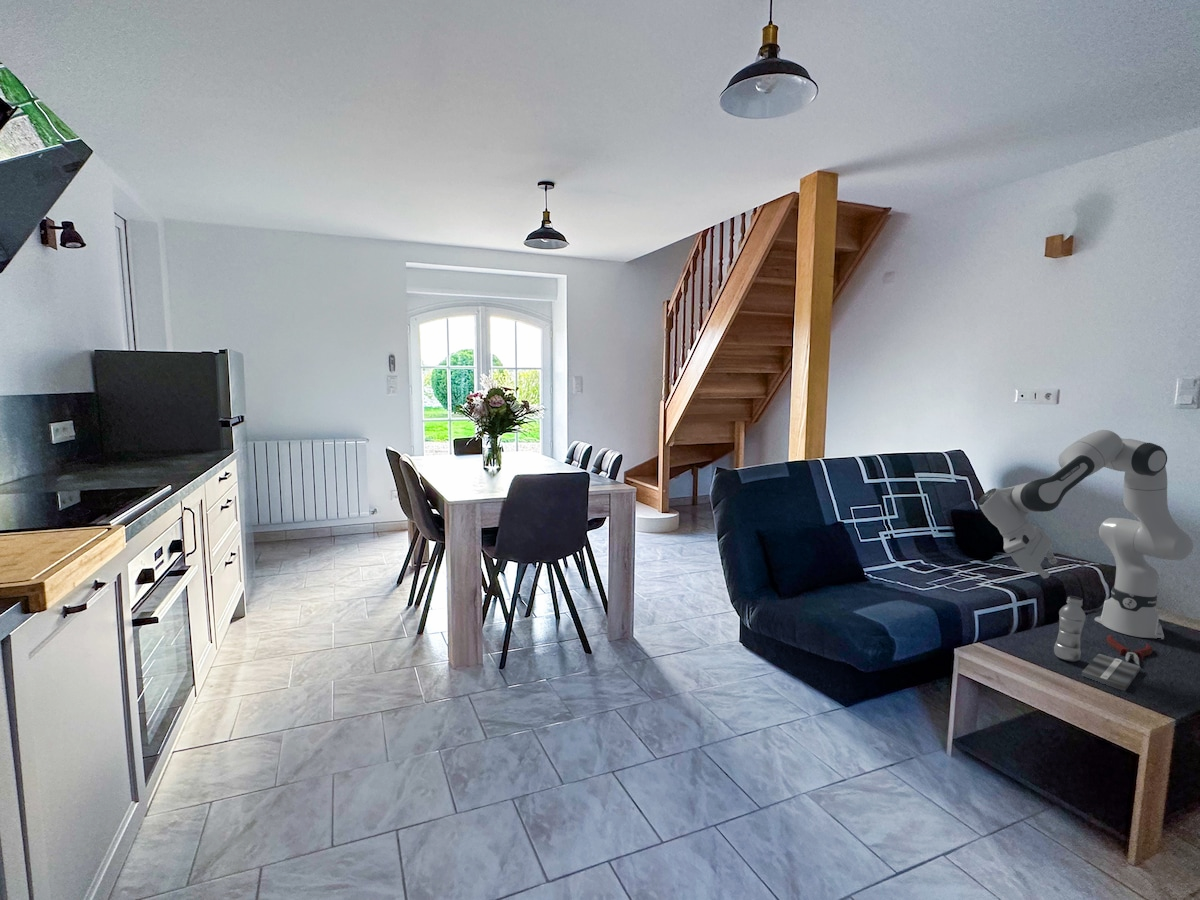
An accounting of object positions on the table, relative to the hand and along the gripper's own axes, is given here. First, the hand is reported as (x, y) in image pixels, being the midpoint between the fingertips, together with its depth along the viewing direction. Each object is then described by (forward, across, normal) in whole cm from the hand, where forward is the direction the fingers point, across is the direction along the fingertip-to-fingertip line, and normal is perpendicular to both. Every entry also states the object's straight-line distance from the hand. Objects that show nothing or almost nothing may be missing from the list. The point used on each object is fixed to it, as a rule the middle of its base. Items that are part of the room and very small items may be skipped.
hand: (1051, 570), depth 193 cm
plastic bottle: (+24, +11, -10) cm, 28 cm away
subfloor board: (+30, +12, -1) cm, 32 cm away
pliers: (+36, -10, -6) cm, 38 cm away
